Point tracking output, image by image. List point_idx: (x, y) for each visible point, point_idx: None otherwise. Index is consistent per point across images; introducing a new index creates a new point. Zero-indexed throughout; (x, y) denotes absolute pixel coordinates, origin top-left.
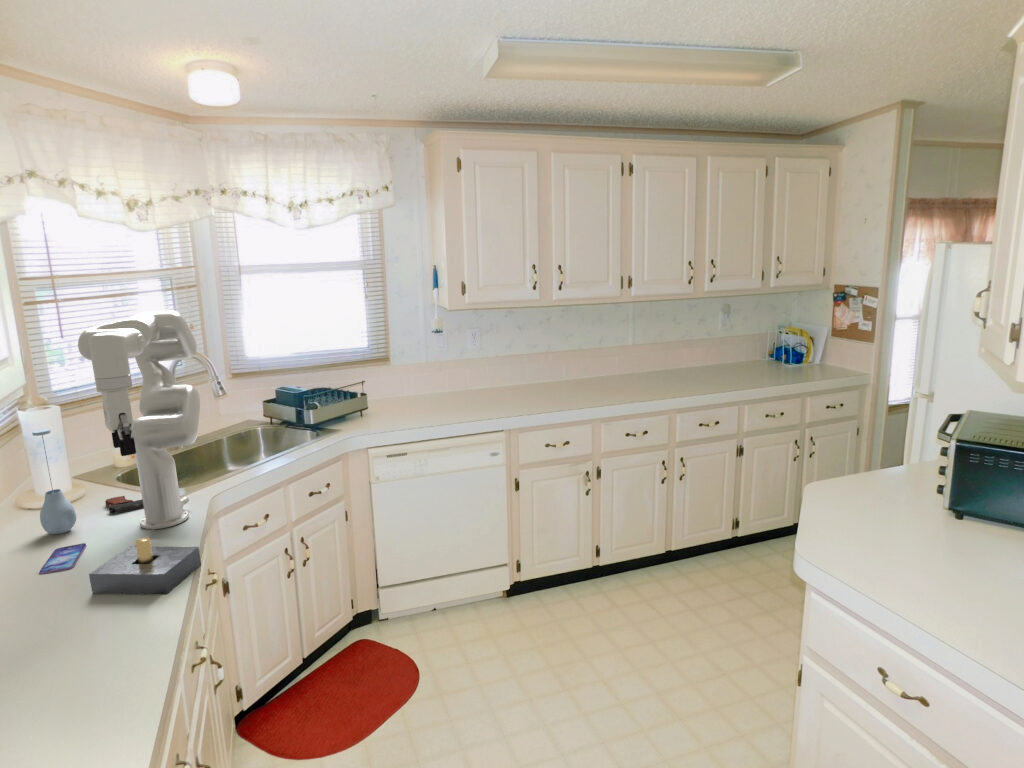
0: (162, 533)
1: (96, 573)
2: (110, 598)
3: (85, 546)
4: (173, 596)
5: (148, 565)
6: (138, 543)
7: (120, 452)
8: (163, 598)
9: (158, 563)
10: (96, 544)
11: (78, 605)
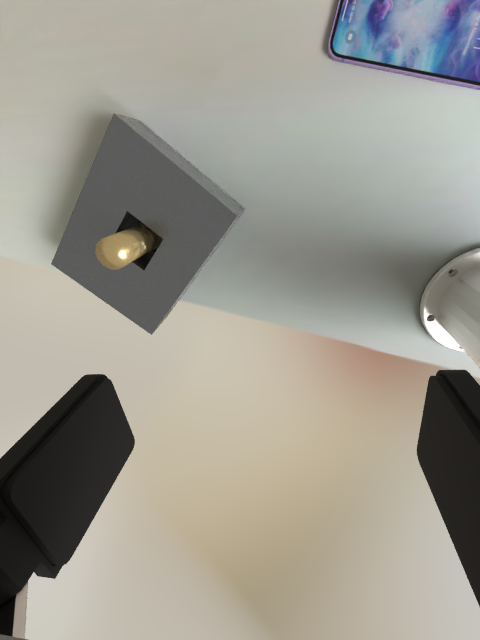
0: (393, 283)
1: (109, 133)
2: None
3: (474, 87)
4: None
5: None
6: (97, 243)
7: (83, 388)
8: None
9: None
10: (469, 121)
11: (98, 91)
